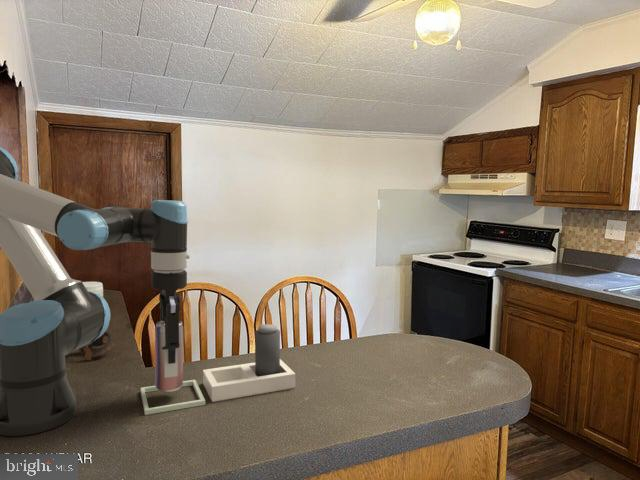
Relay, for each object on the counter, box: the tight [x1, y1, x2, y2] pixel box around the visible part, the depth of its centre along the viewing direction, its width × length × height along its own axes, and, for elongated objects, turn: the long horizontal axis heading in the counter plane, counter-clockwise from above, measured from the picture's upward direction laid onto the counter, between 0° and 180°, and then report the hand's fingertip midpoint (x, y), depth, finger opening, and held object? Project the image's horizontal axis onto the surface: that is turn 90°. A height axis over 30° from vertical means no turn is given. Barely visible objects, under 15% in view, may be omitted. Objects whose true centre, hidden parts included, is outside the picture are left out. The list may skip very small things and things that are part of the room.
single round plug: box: [254, 323, 281, 377], centre depth 116 cm, size 6×6×14 cm
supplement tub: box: [81, 281, 104, 298], centre depth 163 cm, size 10×10×15 cm
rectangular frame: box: [140, 379, 206, 416], centre depth 108 cm, size 13×13×1 cm
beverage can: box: [154, 320, 184, 393], centre depth 107 cm, size 6×6×15 cm
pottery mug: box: [78, 330, 115, 361], centre depth 134 cm, size 12×9×8 cm
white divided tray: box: [202, 358, 296, 403], centre depth 115 cm, size 20×11×4 cm, turn 114°
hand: (169, 370), depth 107 cm, fingers closed on beverage can, 6 cm apart
